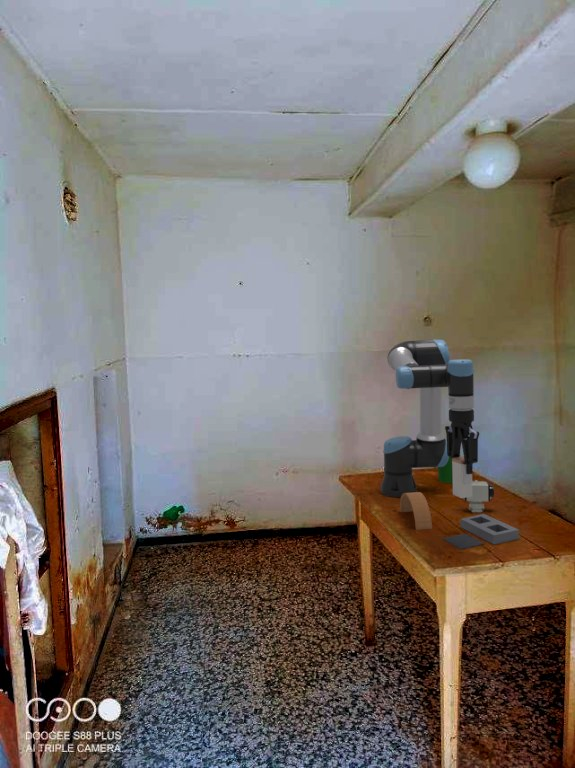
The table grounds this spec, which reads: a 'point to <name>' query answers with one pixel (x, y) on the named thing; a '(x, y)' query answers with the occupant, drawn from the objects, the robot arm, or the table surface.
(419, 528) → the arch
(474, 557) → the table surface
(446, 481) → the green tall piece
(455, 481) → the plug
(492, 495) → the pneumatic valve
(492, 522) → the grey boxy piece
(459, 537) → the mat
